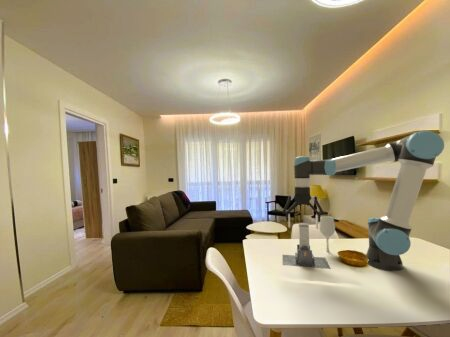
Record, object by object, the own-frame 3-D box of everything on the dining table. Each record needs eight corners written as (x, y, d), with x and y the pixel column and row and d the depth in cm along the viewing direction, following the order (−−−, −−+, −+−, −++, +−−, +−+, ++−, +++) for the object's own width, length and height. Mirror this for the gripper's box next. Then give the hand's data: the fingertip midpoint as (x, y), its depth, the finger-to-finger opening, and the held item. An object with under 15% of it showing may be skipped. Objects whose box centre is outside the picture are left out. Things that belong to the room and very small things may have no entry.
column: (309, 259, 114) (307, 223, 115) (310, 263, 109) (309, 225, 109) (299, 258, 115) (298, 222, 116) (300, 263, 110) (298, 225, 111)
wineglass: (319, 256, 122) (318, 218, 123) (319, 250, 130) (318, 215, 131) (337, 257, 119) (335, 219, 119) (335, 252, 127) (334, 216, 127)
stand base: (325, 259, 116) (324, 241, 117) (330, 271, 103) (330, 250, 103) (282, 256, 122) (282, 239, 122) (282, 267, 108) (282, 247, 109)
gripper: (326, 186, 114) (327, 227, 114) (277, 185, 120) (278, 224, 120) (329, 187, 107) (330, 230, 106) (277, 186, 113) (278, 228, 113)
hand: (302, 227), depth 113 cm, fingers open, 13 cm apart
